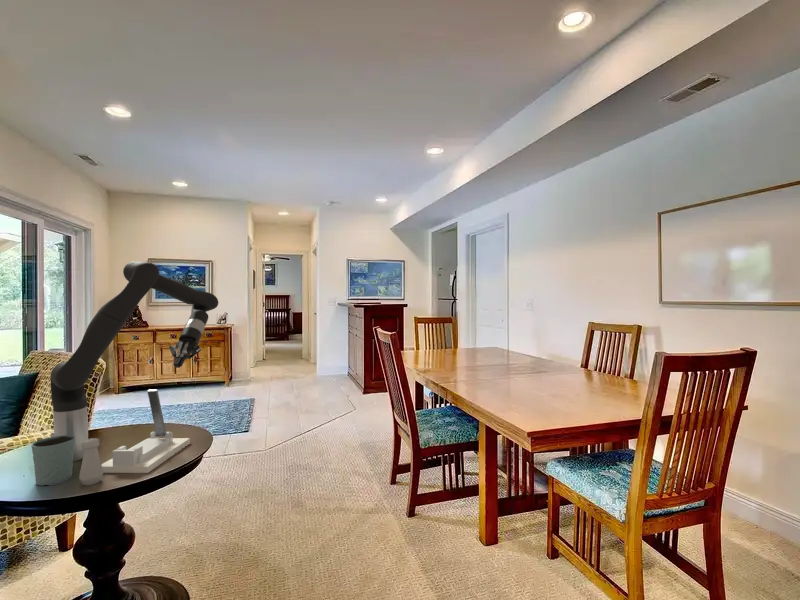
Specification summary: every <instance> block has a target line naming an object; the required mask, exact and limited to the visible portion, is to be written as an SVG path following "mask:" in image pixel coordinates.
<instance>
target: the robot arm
mask: <svg viewBox="0 0 800 600" xmlns="http://www.w3.org/2000/svg"><path fill="white" fill-rule="evenodd" d="M122 273H123V276H124V278H125V280H126V281H128V283H127V284H126V285H125V286H124V288H123V289H122V290H121V291H120V292H119V293H118V294H117V295H115V296H114V297H113V298H111V299H110V300H108V301H107V302H106V303H105V304H104V305H102V306H101V307H100V309H98V311H97V312H96V314H95V315H94V317H93V318H92V319H91V321H90V322H89V324H88V326H87V328H86V329H85V332H84V334H83V337H82V338H81V341H80V344H79V346H78V347H77V349H76V350H75V351H74V353H73V354H72V355H71V357H70V358H68V360H66V361H62V362H59V363H57V364H56V365H55V366H54V367H53V368H52V370H51V372H50V380H49V381H50V395H51V396H50V398H51V404H52V414H53V416H52V417H53V419H52V420H53V432H51V433H50V437H55V436H63V435H71V436H74V437H75V443H74V450H73V451H74V453H73V462H77V461H79V460H83V455H84V449H82V442H83V441H84V440H87V439H89V423H88V422H89V418H88V398H87V396H86V389H85V384H86V383H87V381H88V380H89V378H90V376H91V375H92V372H93V371H94V369H95V368H96V365H97V363H98V361H99V360H100V358H101V357H102V355H103V354H104V353H105V351H106V350H107V349H108V347H109V346H110V345H111V343H112V342H113V341H114V339H115V338H116V337H117V336H118V334H119V333H120V331H121V330H122V328H123V327H124V325H125V324H126V323H127V320H128V319H129V317H131V315H132V314H133V312H134V311H135V309H136V308H137V306H138V305H139V304H140V302H141V301H142V299H143V298H144V297H145V296H146V295H147V293H148V292H149V291H150V290H151V289H152V290H155V291H158V292H161V293H162V294H164V295H167V296H168V297H171V298H173V299H175V300H177V301H179V302H181V303H184V304H186V305H191V310H190V311H191V313H190V315H189V317H188V320H187V321H186V323H185V325H184V327H183V329H182V331H181V333H180V335H179V336H178V337H179V338H178V341H177V342H175V344H174V345H173V346H172V345H169V346H168V349H169V351H170V353H171V356H172V357H173V358H174V361H173V364H172V365H173V367H174V368H176V369H177V368H178V369H180V368H181V367H182V366H183V365H184V362H185V361H186V360H190V359H192V358H194V357H195V356H196V355H197V354H199V353H200V352H201V351H202V348H201V346H200V345H199V343H200V340H201V338H202V336H203V333H204V331H205V327H206V326H207V325H206V324H207V323H208V320H209V314H208V313H207V312H209V311H212V310H215V309H216V308H217V307H218V306H219V299H218V297H217V296H216V295H214V294H213V293H211V292H207V291H203V290H198V289H196V288H193V287H191V286H189V285H187V284H186V283H185V284H184V283H182V282H181V281H180V282H179V281H177V280H174V279H172V278H168V277H167V276H163V275H162V274H160V269H159V268H158V266H157V265H156V264H154V263H153V262H149V261H148V262H147V261H144V260H143V261H142V260H133V261H129V262H128V263H126V264H125V266H124V267H123V271H122Z"/></svg>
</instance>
